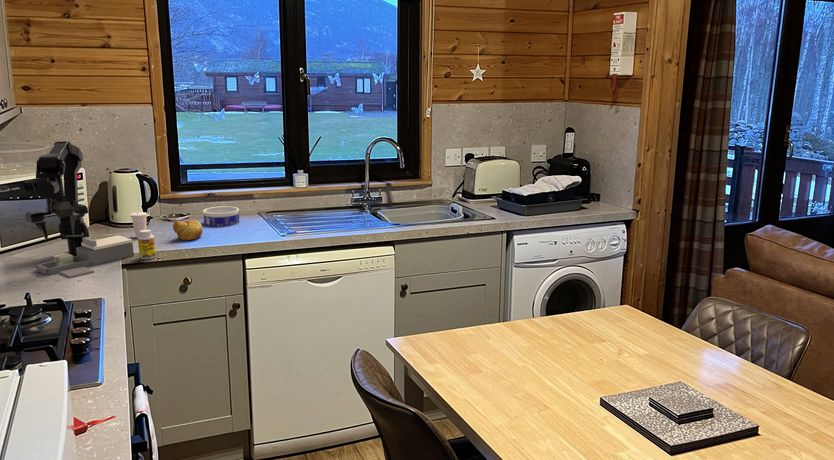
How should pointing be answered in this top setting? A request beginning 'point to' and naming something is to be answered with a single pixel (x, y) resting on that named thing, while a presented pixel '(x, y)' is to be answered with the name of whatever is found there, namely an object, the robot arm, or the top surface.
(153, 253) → the supplement bottle
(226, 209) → the dog bowl
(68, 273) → the pad
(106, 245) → the cover
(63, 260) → the block
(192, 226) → the bread roll
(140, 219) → the smoothie
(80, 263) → the grey long stepped bar
